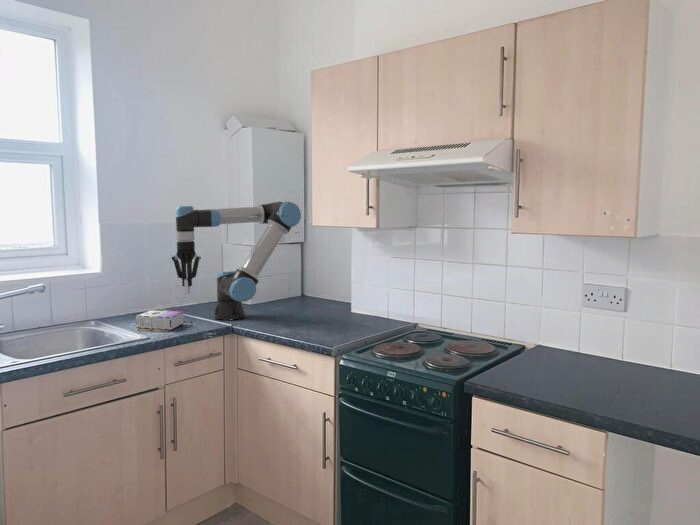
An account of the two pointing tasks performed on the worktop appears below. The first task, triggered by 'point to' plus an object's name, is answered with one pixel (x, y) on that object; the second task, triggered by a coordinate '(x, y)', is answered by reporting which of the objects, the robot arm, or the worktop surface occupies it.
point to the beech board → (151, 329)
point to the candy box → (159, 320)
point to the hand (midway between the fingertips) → (187, 293)
